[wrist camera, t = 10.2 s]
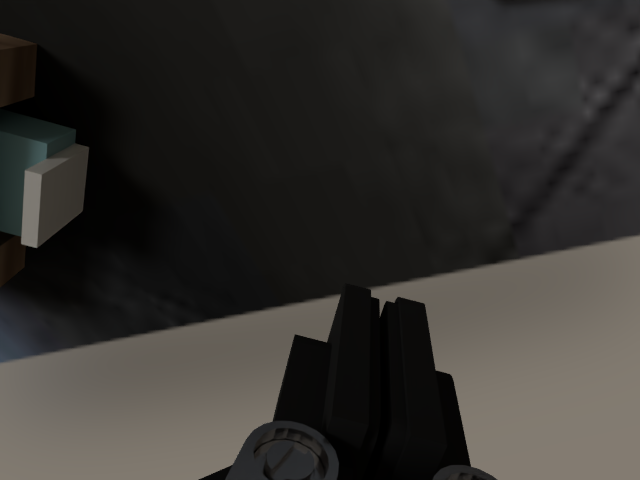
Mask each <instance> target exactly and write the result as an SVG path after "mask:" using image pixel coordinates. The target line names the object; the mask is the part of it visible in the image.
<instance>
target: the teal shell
mask: <svg viewBox="0 0 640 480" xmlns="http://www.w3.org/2000/svg"><path fill="white" fill-rule="evenodd" d="M75 138H76V129H72V128H69V127H65V126H61V125H58V124H54V123H51V122H47V121H43V120H40V119H36V118H33V117H29V116H25V115H22V114H18V113H14V112H11V111H7V110H4V109H0V231H2V232H6V233H9V234H13V235H17V236H21V244H23V245H27V246H31V247H34V248H38V247H39V246H40V245H41V244H43V243H44V242H45V241H46V240H48V239H49V238H50V237H51V236H53V235H54V234H55V233H56V232H58V231H59V230H60V229H61V228H63V227H64V226H65V225H66V224H67V223H69V222H70V221H71V220H72V219H74V218H75V217H76V216H77V215H79V214H80V213H81V212H82V211H83V203H84V193H85V183H86V174H87V164H88V154H89V147H87V146H83V145H79V144H76V143H75Z"/></svg>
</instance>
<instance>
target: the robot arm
mask: <svg viewBox="0 0 640 480" xmlns="http://www.w3.org/2000/svg"><path fill="white" fill-rule="evenodd" d="M379 311H380V310H379V299H377V298H373V297H371V290H370V289H366V288H362V287H358V286H354V285H350V284H346V283H345V285H344V287H343V290H342V293H341V297H340V300H339V303H338V307H337V310H336V314H335V317H334V321H333V324H332V328H331V331H330V334H329V338H328V341H327V343H326V342H323V341H318V340H315V339H311V338H307V337H303V336H299V335H295V336H294V340H293V344H292V347H291V351H290V355H289V359H288V362H287V366H286V370H285V374H284V378H283V382H282V386H281V390H280V393H279V397H278V402H277V405H276V410H275V414H274V418H273V422H270V423H266V424H263V425H262V426H260V427H258V428H256V429H255V430H254V431H253V432H252V433H251V434H250V435H249V437H248V438H247V439H246V441H245V443H244V444H243V446H242V448H241V450H240V452H239V454H238V456H237V458H236V460H235V462H234V463H233V465H231V466H229V467H227V468H225V469H222V470H220V471H218V472H215V473H213V474H211V475H209V476H206V477H204V478H202V479H199V480H497V479H496V478H494V477H493V476H492V475H490V474H488V473H486V472H484V471H482V470H480V469H477V468H473V467H471V464H470V459H469V455H468V450H467V445H466V440H465V435H464V430H463V425H462V420H461V415H460V411H459V405H458V401H457V396H456V391H455V386H454V381H453V378H452V376H451V375H450V374H447V373H444V372H440V371H436V370H435V364H434V358H433V352H432V346H431V340H430V333H429V327H428V321H427V315H426V309H425V304H424V303H420V302H416V301H412V300H408V299H405V298H401V297H398V298H397V299H396V301H395V303H393V302H388V301H386V303H385V305H384V308H383V310H382V313H381V316H380V312H379Z"/></svg>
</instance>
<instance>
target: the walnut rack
mask: <svg viewBox="0 0 640 480" xmlns="http://www.w3.org/2000/svg"><path fill="white" fill-rule="evenodd" d="M36 56H37V44H36V43H32V42H29V41H25V40H22V39H18V38H15V37H11V36H8V35H4V34H1V33H0V107H3V106H7V105H10V104H13V103H16V102H19V101H22V100H25V99H28V98H31V97H34V92H35V74H36ZM25 251H26V245H23V244H21V236H17V235H13V234H9V233H6V232H2V231H0V287H1V286H3V285H4V284H5V283H6V282H7V281H9V280H10V279H11V278H12V277H13V276H15V275H16V274H17V273H18V272H19V271H21V270H22V269H23V268H24V267H25Z"/></svg>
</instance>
